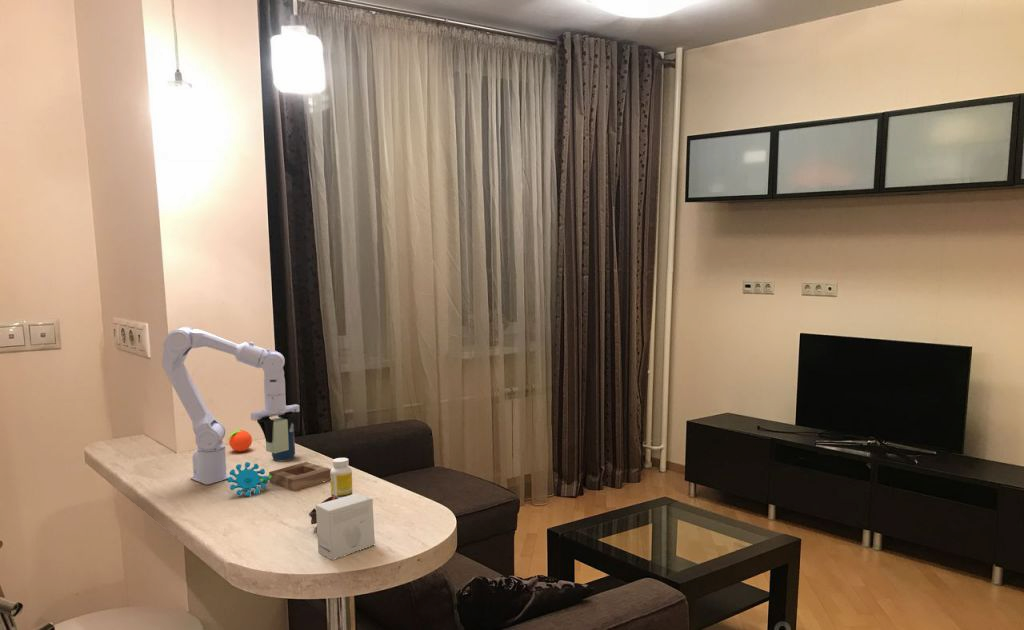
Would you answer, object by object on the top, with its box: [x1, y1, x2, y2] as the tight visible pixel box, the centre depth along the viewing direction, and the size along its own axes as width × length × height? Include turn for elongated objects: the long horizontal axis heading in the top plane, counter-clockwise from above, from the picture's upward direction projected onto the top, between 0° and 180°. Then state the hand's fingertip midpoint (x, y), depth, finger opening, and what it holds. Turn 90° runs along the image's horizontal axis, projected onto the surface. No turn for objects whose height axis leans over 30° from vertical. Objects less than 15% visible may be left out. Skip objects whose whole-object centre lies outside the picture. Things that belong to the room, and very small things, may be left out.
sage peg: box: [265, 416, 289, 454], centre depth 202 cm, size 4×4×9 cm
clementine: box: [227, 429, 253, 453], centre depth 227 cm, size 8×7×7 cm
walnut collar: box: [268, 461, 332, 492], centre depth 196 cm, size 12×12×3 cm
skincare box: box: [315, 492, 376, 561], centre depth 149 cm, size 10×6×10 cm, turn 133°
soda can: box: [271, 422, 296, 462], centre depth 218 cm, size 7×7×12 cm
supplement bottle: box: [330, 457, 353, 499], centre depth 182 cm, size 5×5×10 cm
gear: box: [227, 461, 272, 498], centre depth 188 cm, size 11×6×10 cm
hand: (277, 440), depth 202 cm, fingers closed on sage peg, 4 cm apart
